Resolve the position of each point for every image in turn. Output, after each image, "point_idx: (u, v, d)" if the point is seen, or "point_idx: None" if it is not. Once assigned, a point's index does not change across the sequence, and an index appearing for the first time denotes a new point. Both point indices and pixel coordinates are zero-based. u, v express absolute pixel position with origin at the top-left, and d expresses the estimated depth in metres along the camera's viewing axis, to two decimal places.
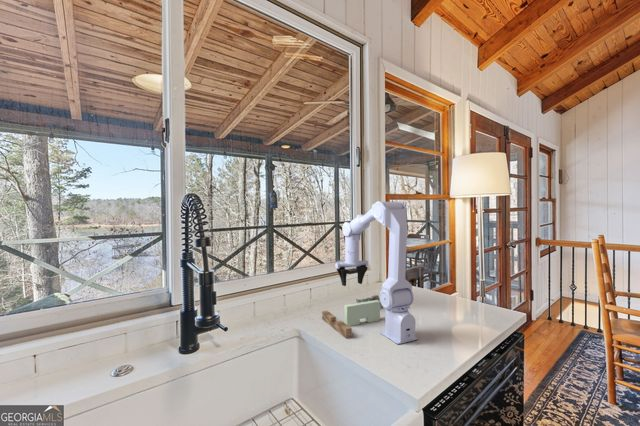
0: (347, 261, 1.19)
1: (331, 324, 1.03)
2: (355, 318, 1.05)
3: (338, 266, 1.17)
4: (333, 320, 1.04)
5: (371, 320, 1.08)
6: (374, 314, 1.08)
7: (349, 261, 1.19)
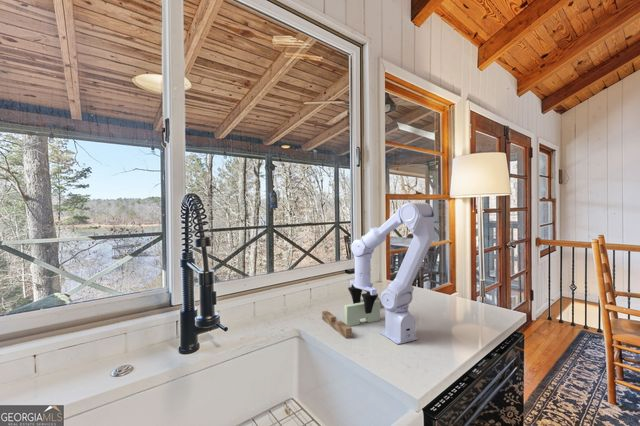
0: None
1: (331, 324, 1.03)
2: (355, 318, 1.05)
3: (350, 283, 1.13)
4: (333, 320, 1.04)
5: (371, 320, 1.08)
6: (374, 314, 1.08)
7: None
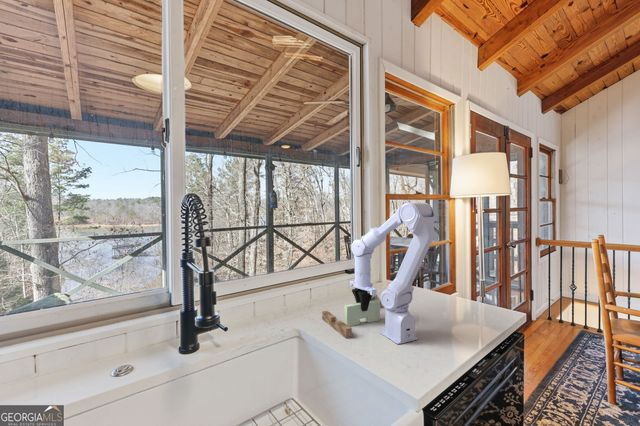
0: None
1: (331, 324, 1.03)
2: (355, 318, 1.05)
3: (350, 283, 1.13)
4: (333, 320, 1.04)
5: (371, 320, 1.08)
6: (374, 314, 1.08)
7: None
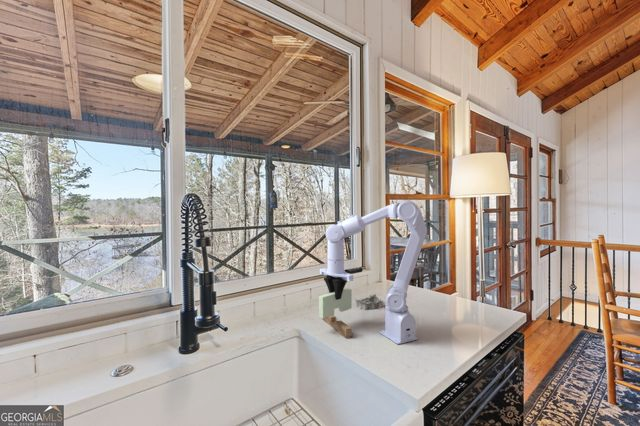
0: None
1: (331, 324, 1.03)
2: (330, 309, 0.99)
3: (320, 271, 1.07)
4: (333, 320, 1.04)
5: (344, 309, 1.04)
6: (346, 303, 1.05)
7: None
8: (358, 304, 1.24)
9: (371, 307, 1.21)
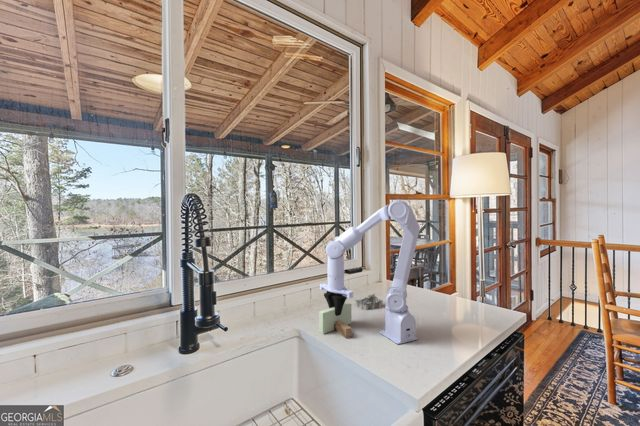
0: None
1: None
2: (330, 324, 0.99)
3: (320, 287, 1.07)
4: None
5: None
6: (346, 317, 1.05)
7: None
8: (358, 304, 1.24)
9: (372, 307, 1.22)
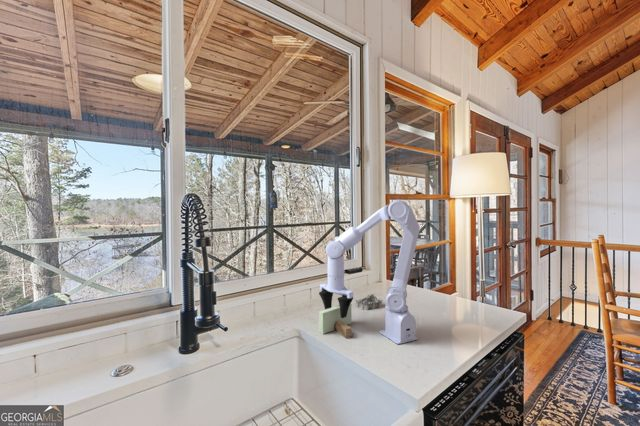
0: None
1: None
2: (330, 324, 0.99)
3: (320, 287, 1.07)
4: None
5: None
6: (346, 317, 1.05)
7: None
8: (359, 304, 1.23)
9: (372, 307, 1.22)
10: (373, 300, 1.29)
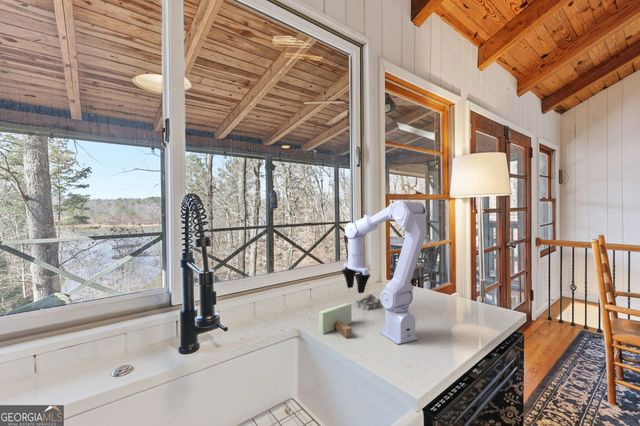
0: None
1: None
2: (330, 324, 0.99)
3: (344, 265, 1.17)
4: None
5: None
6: (346, 317, 1.05)
7: None
8: (359, 305, 1.23)
9: (373, 307, 1.22)
10: (372, 300, 1.29)
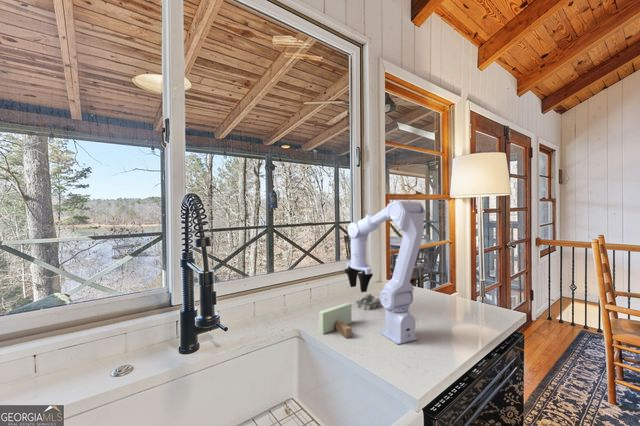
0: None
1: None
2: (330, 324, 0.99)
3: (347, 265, 1.19)
4: None
5: None
6: (346, 317, 1.05)
7: None
8: (359, 305, 1.23)
9: (373, 306, 1.22)
10: (371, 300, 1.29)
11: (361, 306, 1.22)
